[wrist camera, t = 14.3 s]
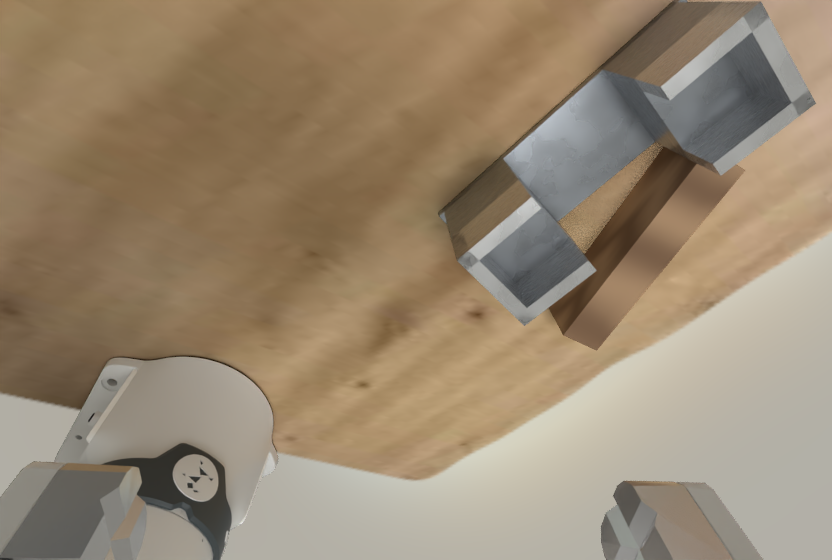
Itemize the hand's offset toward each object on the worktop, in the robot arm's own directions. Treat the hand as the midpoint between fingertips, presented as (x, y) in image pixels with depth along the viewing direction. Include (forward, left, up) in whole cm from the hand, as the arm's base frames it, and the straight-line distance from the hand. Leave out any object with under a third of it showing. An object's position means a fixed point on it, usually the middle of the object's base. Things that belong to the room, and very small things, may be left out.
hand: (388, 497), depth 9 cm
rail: (+8, -20, -33) cm, 39 cm away
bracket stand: (+9, -11, -33) cm, 36 cm away
